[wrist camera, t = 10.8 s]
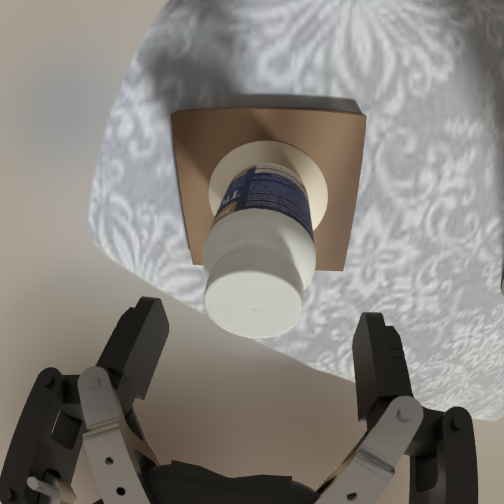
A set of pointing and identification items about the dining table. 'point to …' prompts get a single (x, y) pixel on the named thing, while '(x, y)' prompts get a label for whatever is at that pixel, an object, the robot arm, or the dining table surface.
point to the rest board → (272, 151)
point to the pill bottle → (259, 253)
